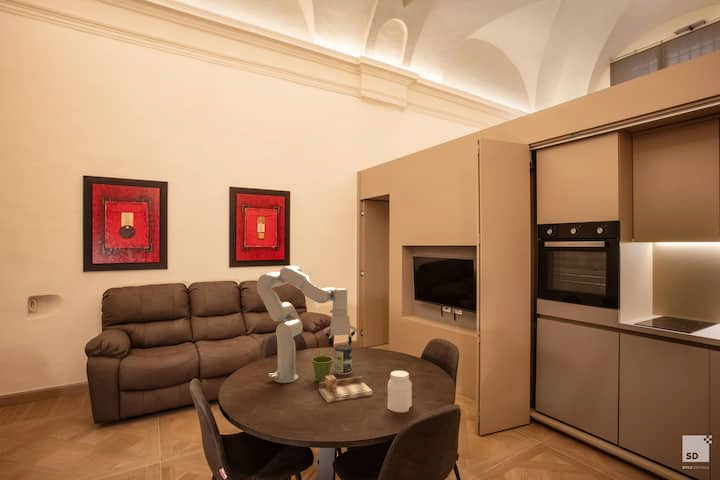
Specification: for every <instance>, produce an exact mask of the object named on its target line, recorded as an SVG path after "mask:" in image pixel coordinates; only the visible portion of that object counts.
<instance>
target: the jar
mask: <svg viewBox="0 0 720 480" xmlns="http://www.w3.org/2000/svg"><path fill="white" fill-rule="evenodd" d="M409 375H410V374H409V372H407V371H405V370H393V371H391V372H390V378H389V380H388V382H387V409H388V410H389V411H391V412H393V413H406V412H409V411H410V408H411V407H412V405H413V403H412V386H413V384H412V382H411V380H410V378H409V377H410V376H409Z"/></svg>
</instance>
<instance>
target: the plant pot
mask: <svg viewBox="0 0 720 480" xmlns="http://www.w3.org/2000/svg"><path fill="white" fill-rule="evenodd" d="M333 361H334V357H332V356H329V355H319V356H318V355H317V356H313V357H312V358H311V362H312V366H313V371H314V378H315V381H317V382H325V376H329V375H331V368H332V363H333Z"/></svg>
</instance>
